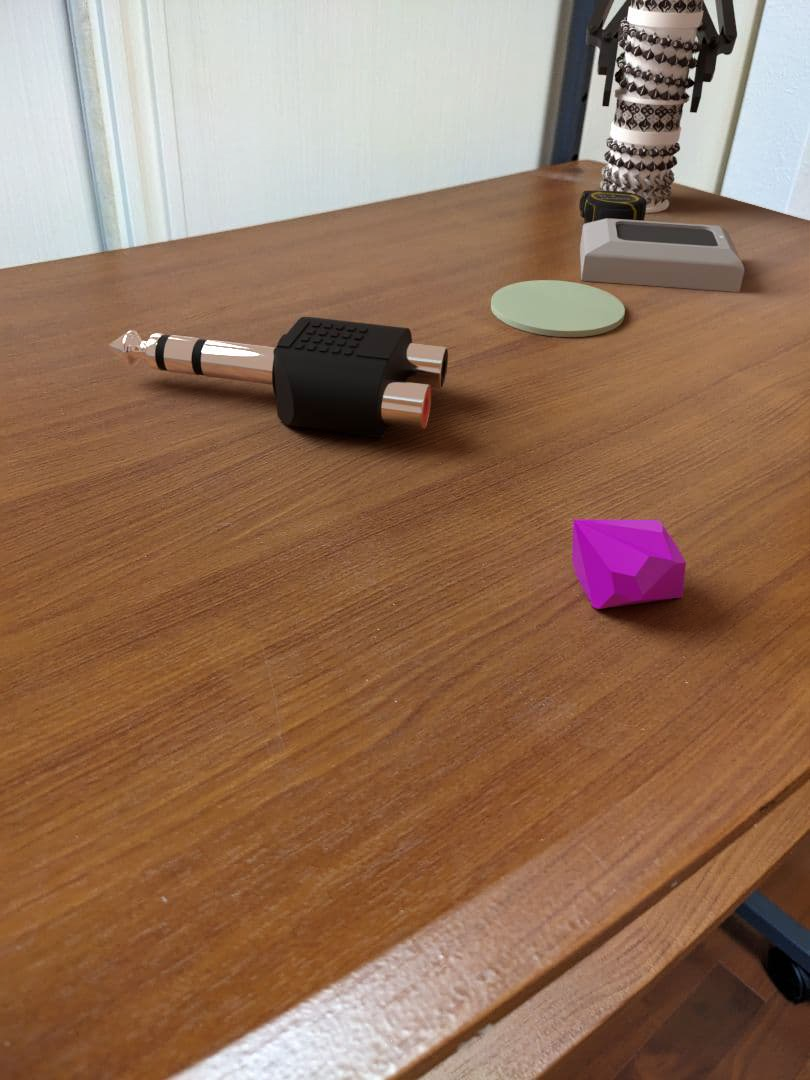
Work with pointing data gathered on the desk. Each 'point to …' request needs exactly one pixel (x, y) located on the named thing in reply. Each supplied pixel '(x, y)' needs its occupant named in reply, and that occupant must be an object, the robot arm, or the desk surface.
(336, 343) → the audio adapter
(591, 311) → the coaster
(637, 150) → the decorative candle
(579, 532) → the crystal
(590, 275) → the grey device with screen
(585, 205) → the tape measure
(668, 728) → the desk surface
